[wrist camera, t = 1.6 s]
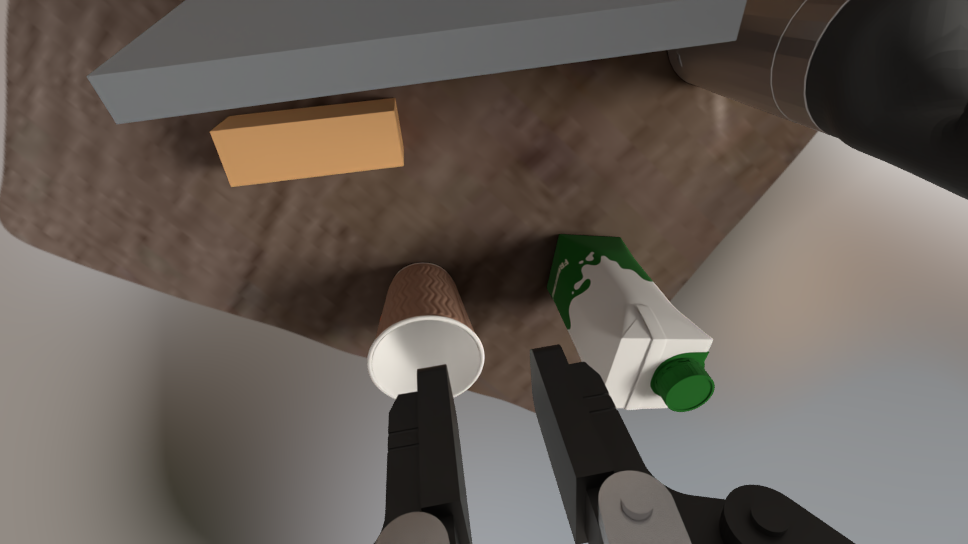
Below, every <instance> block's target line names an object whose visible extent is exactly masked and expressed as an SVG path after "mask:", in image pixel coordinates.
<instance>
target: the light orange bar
mask: <svg viewBox="0 0 968 544" xmlns="http://www.w3.org/2000/svg"><path fill="white" fill-rule="evenodd" d="M210 134H211V136H212V139H213V141H214V144H215V146H216V149H217V152H218V154H219V157H220V159H221V162H222V165H223V167H224V170H225V172H226V175H227V177H228V180H229V183H230V185H231V187H235V186H243V185H251V184H259V183H268V182H276V181H284V180H292V179H300V178H309V177H317V176H325V175H333V174H341V173H350V172H358V171H366V170H374V169H382V168H391V167H399V166H404V147H403V141H402V135H401V129H400V123H399V118H398V112H397V106H396V100H395V98H389V99H379V100H370V101H361V102H352V103H343V104H334V105H325V106H316V107H307V108H298V109H289V110H280V111H271V112H261V113H252V114H243V115H234V116H229V117H227V118H226V119H225V120H224V121H222V122H221V123H220V124H219V125H217V126H216V127H215V128H214V129H212V130H211V131H210Z"/></svg>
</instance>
